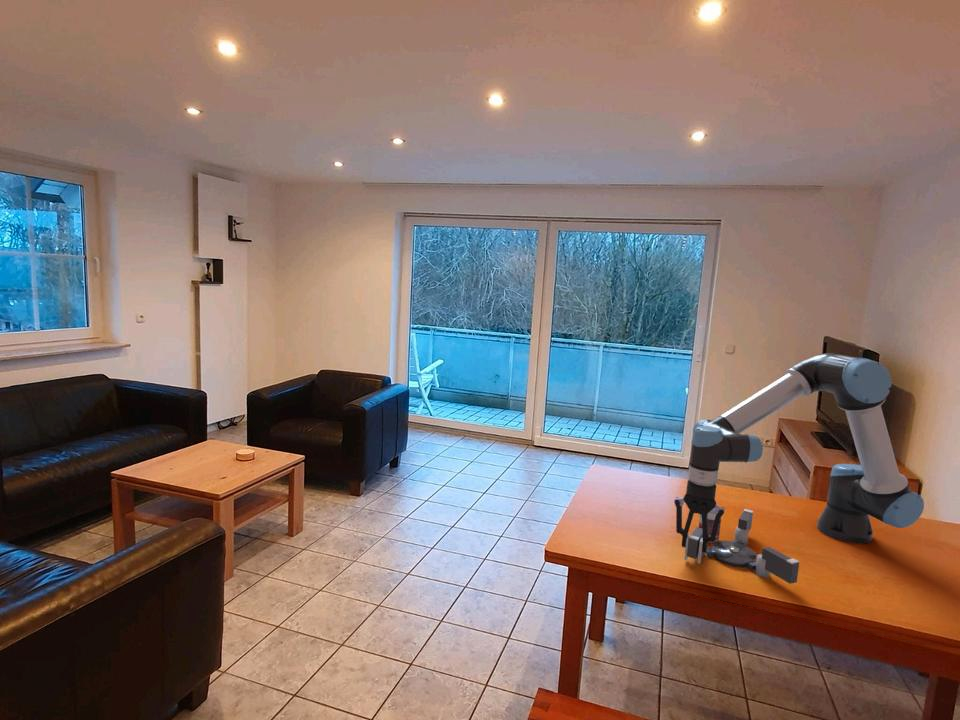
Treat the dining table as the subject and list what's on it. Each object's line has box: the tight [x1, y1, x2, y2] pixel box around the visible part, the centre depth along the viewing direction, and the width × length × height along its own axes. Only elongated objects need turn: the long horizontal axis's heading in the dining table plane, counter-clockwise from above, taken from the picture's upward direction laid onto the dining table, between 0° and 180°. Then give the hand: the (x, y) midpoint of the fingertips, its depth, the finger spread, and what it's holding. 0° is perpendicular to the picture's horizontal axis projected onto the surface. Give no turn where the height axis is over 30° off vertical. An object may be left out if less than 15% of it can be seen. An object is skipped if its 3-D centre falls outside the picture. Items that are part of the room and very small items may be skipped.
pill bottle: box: [698, 503, 722, 544], centre depth 168 cm, size 6×6×11 cm
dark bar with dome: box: [687, 526, 706, 560], centre depth 156 cm, size 11×4×8 cm, turn 145°
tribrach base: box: [705, 540, 757, 572], centre depth 158 cm, size 14×15×3 cm
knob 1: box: [733, 508, 754, 547], centre depth 168 cm, size 11×4×8 cm, turn 143°
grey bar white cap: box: [754, 546, 800, 585], centre depth 145 cm, size 11×4×8 cm, turn 23°
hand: (692, 559), depth 153 cm, fingers closed on dark bar with dome, 3 cm apart
